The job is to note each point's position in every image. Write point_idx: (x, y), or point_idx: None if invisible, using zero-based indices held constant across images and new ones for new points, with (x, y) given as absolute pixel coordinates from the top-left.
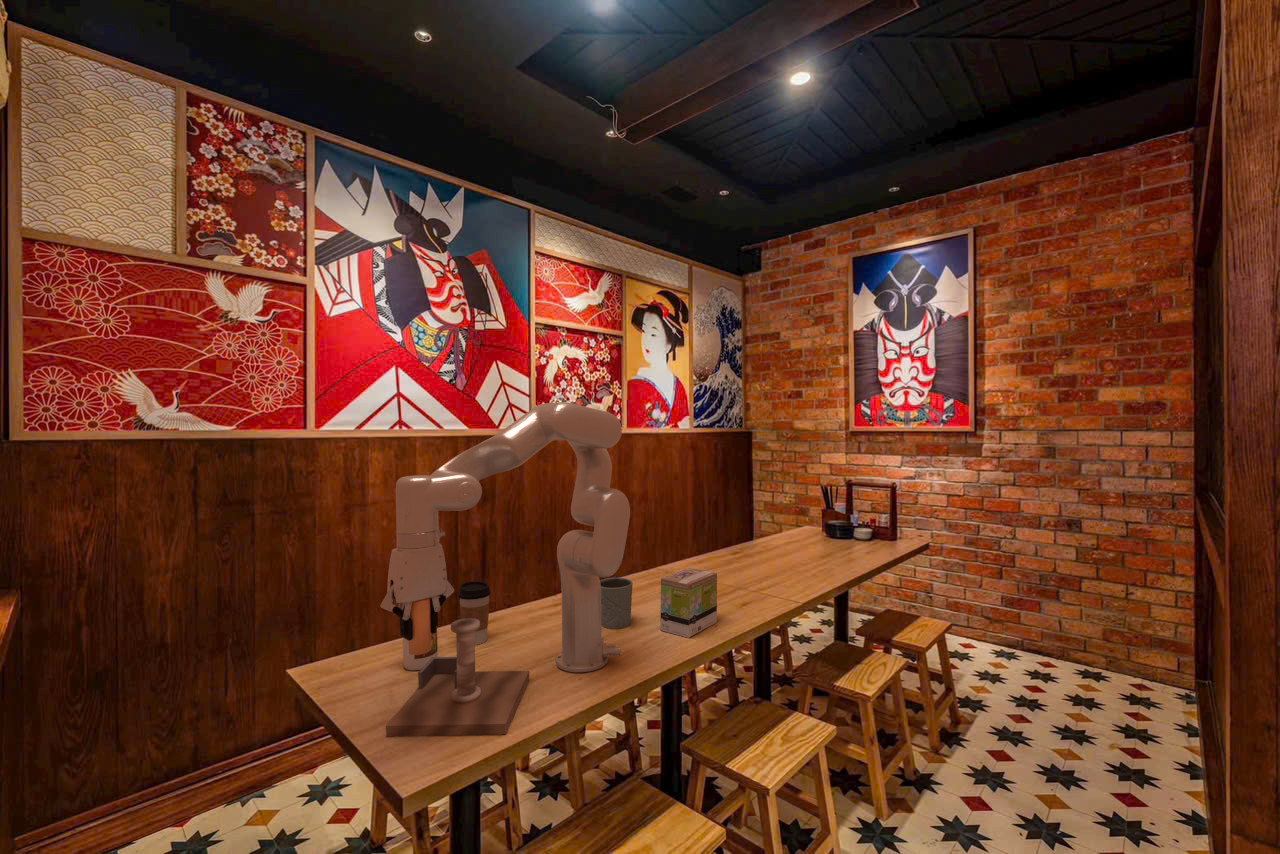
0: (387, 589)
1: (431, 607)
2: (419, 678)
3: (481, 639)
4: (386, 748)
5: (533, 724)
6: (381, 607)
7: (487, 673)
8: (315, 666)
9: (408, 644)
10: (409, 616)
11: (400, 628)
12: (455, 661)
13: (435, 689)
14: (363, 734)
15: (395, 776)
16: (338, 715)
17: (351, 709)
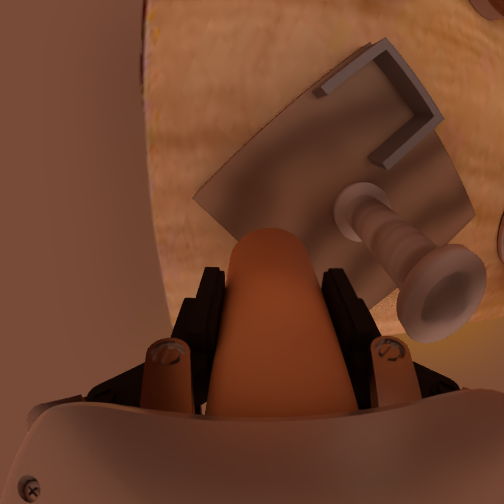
0: (11, 473)
1: (356, 392)
2: (318, 91)
3: (490, 17)
4: (185, 229)
5: None
6: (38, 412)
7: (439, 156)
8: None
9: (228, 270)
10: (201, 408)
11: (180, 313)
12: (417, 96)
13: (337, 125)
14: (168, 153)
15: (176, 303)
16: (158, 48)
17: (184, 39)
